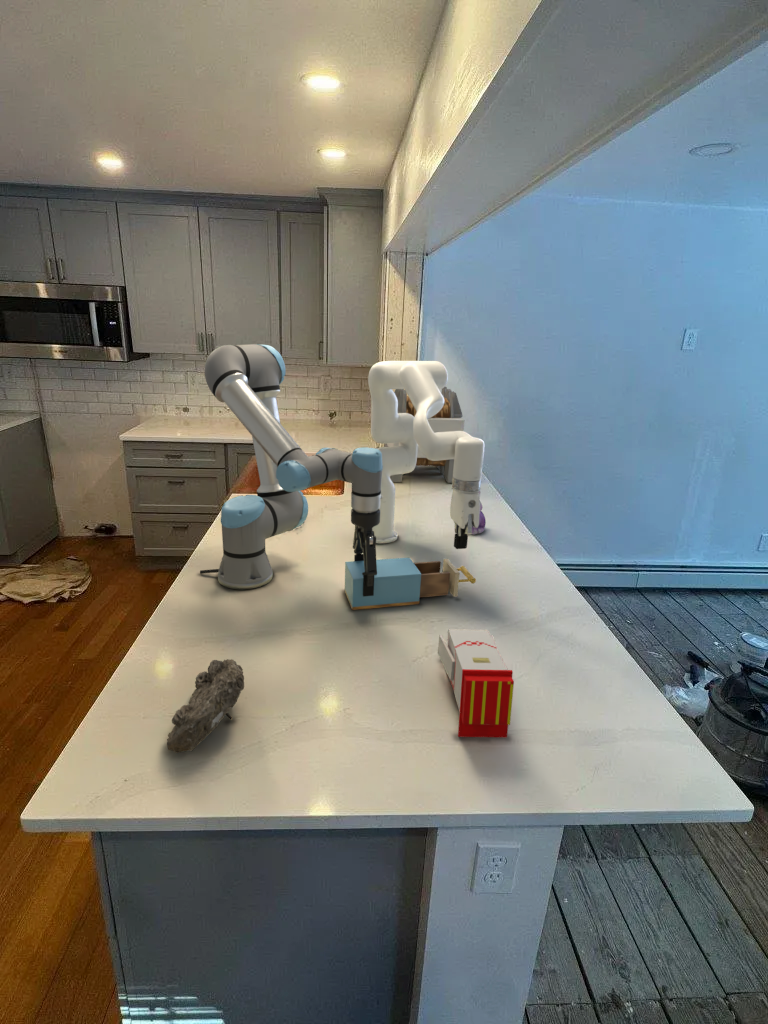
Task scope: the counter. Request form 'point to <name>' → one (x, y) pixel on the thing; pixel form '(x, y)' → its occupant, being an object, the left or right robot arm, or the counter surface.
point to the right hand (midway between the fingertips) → (460, 547)
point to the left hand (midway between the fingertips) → (363, 585)
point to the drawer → (441, 578)
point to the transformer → (433, 428)
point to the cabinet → (384, 584)
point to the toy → (478, 682)
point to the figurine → (480, 521)
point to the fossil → (206, 705)
